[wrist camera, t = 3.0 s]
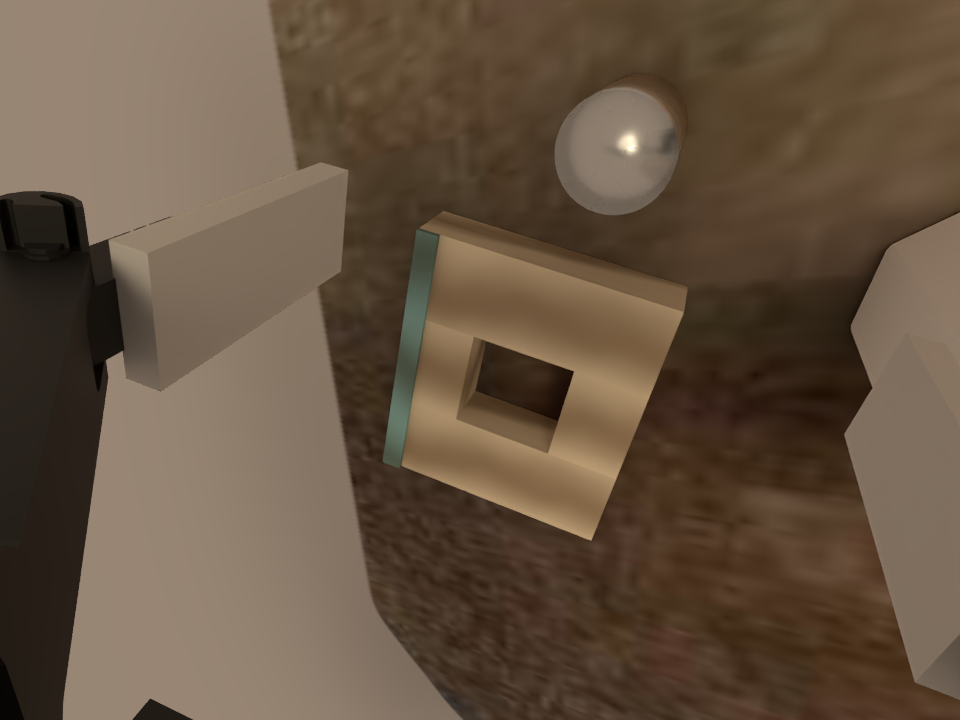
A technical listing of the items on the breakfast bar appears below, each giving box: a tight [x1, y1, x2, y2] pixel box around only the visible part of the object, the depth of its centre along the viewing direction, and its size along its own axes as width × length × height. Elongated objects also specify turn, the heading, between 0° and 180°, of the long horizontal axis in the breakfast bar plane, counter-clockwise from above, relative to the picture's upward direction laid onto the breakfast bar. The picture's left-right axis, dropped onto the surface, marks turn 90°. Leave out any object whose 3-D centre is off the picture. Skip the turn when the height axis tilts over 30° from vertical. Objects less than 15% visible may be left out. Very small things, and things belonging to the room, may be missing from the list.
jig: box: [383, 211, 688, 541], centre depth 38 cm, size 16×14×4 cm
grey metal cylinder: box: [554, 74, 688, 215], centre depth 28 cm, size 5×5×8 cm
